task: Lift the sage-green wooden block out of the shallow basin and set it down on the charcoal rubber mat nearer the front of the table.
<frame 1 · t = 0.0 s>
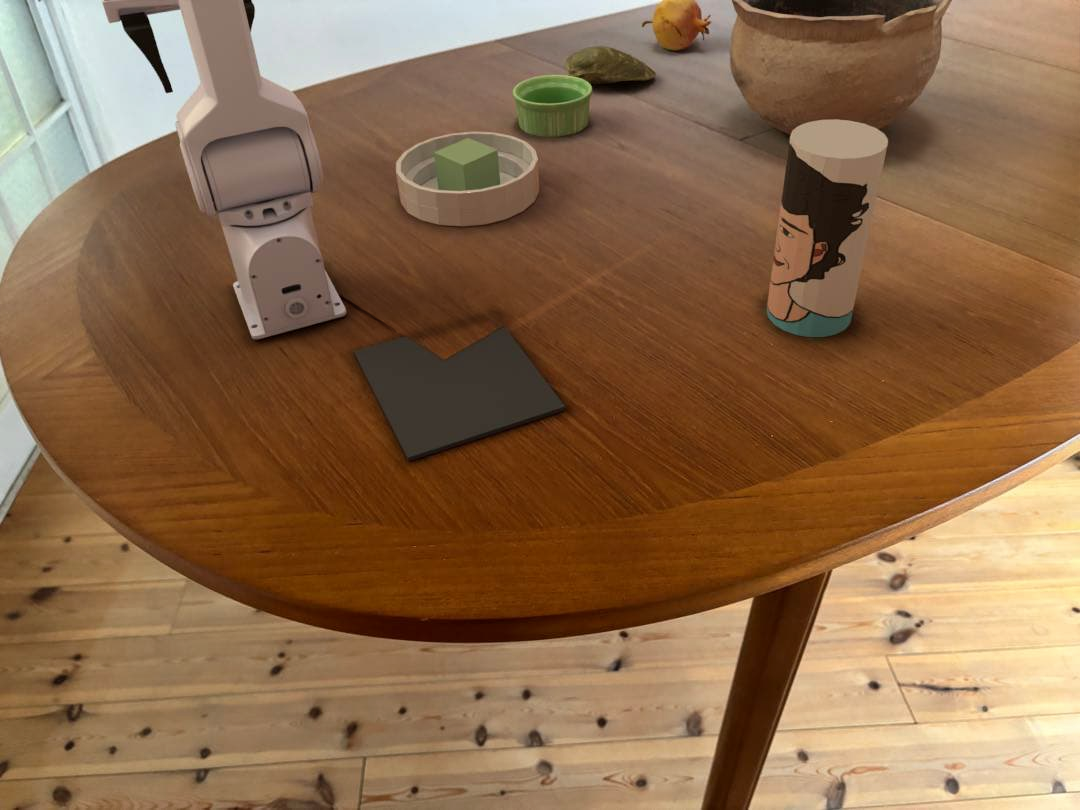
hand: (207, 82, 94), 10 cm above the table, tool pointing down, fingers open, 7 cm apart
basin: (470, 197, 93), on the table
ramekin: (553, 127, 106), on the table
fruit: (676, 48, 125), on the table
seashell: (609, 83, 116), on the table
cup: (808, 315, 75), on the table
ceramic bowl: (818, 127, 103), on the table
mat: (455, 381, 70), on the table
green block: (469, 192, 93), resting on basin
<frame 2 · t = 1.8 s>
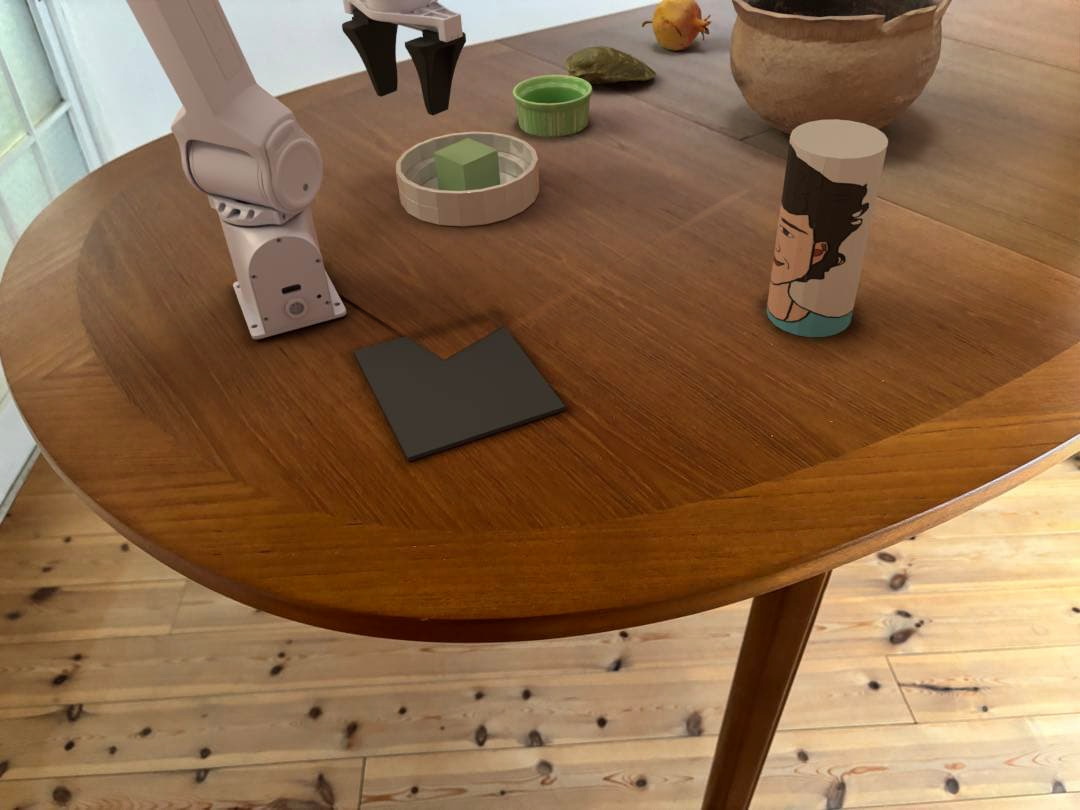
hand: (412, 102, 89), 10 cm above the table, tool pointing down, fingers open, 7 cm apart
nothing on the table moved.
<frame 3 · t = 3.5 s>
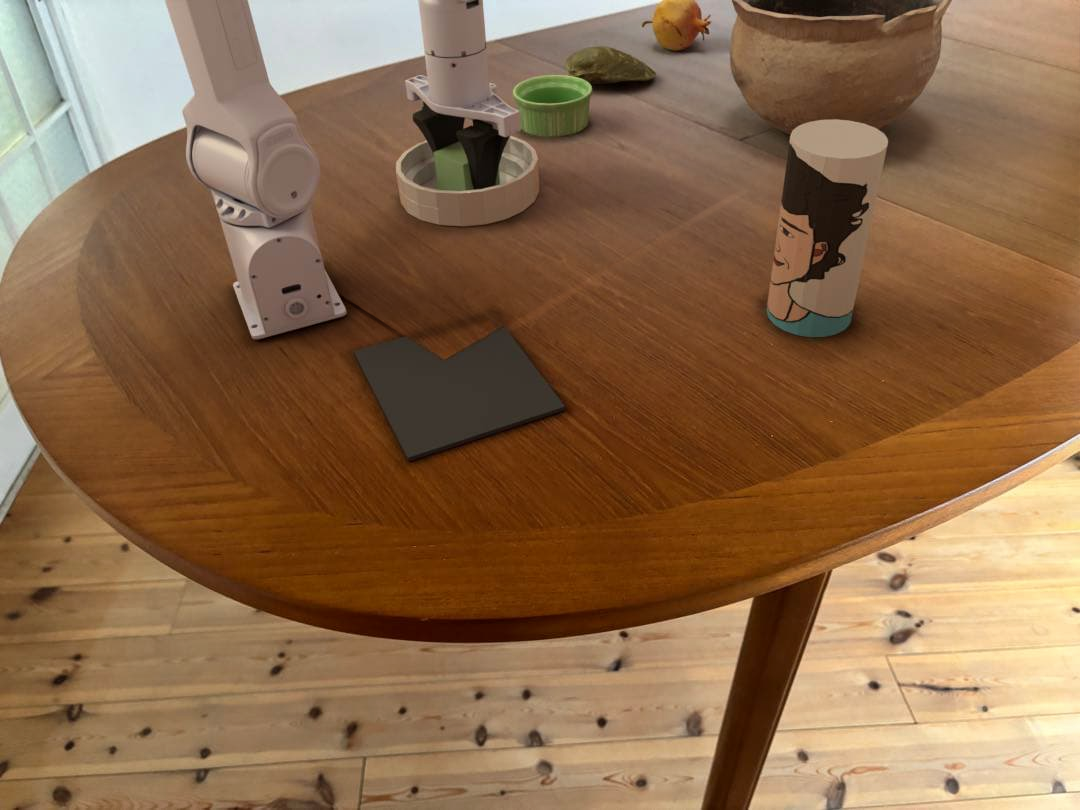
hand: (469, 184, 92), 1 cm above the table, tool pointing down, fingers closed on green block, 4 cm apart
green block: (469, 192, 93), point 1 cm above the table, touching basin, gripper
everything else where it was.
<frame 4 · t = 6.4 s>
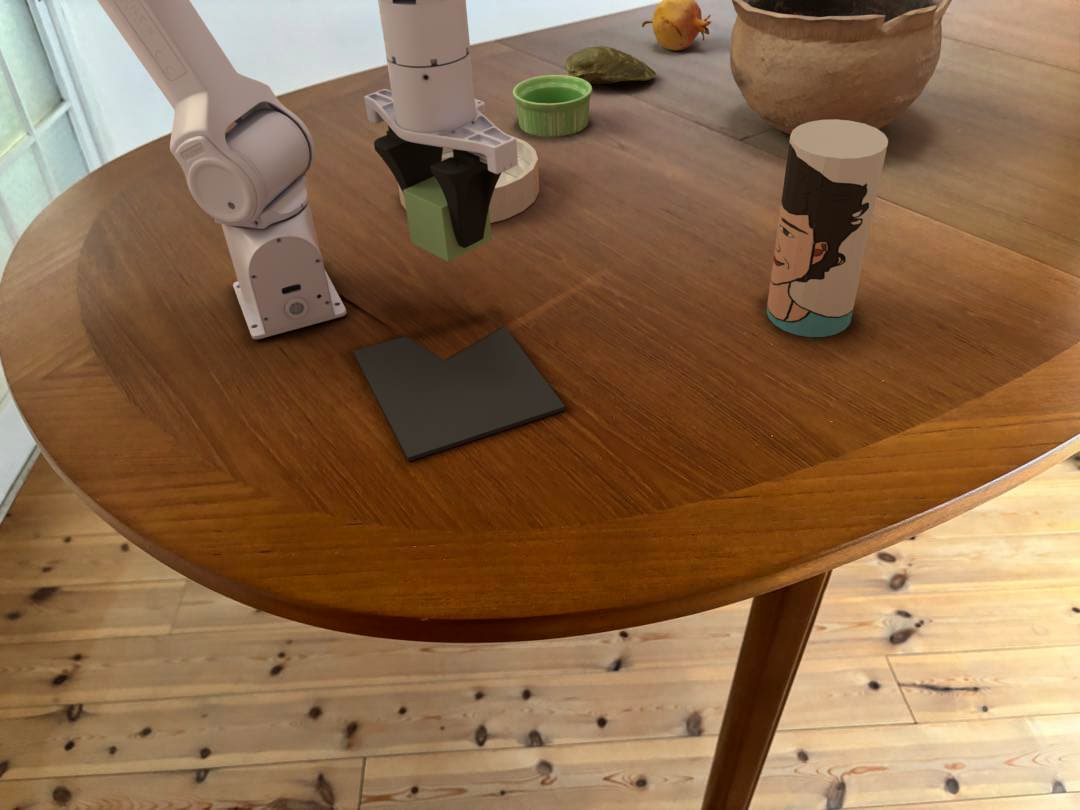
hand: (449, 231, 71), 8 cm above the table, tool pointing down, fingers closed on green block, 4 cm apart
green block: (451, 241, 71), point 8 cm above the table, touching gripper
everything else where it was.
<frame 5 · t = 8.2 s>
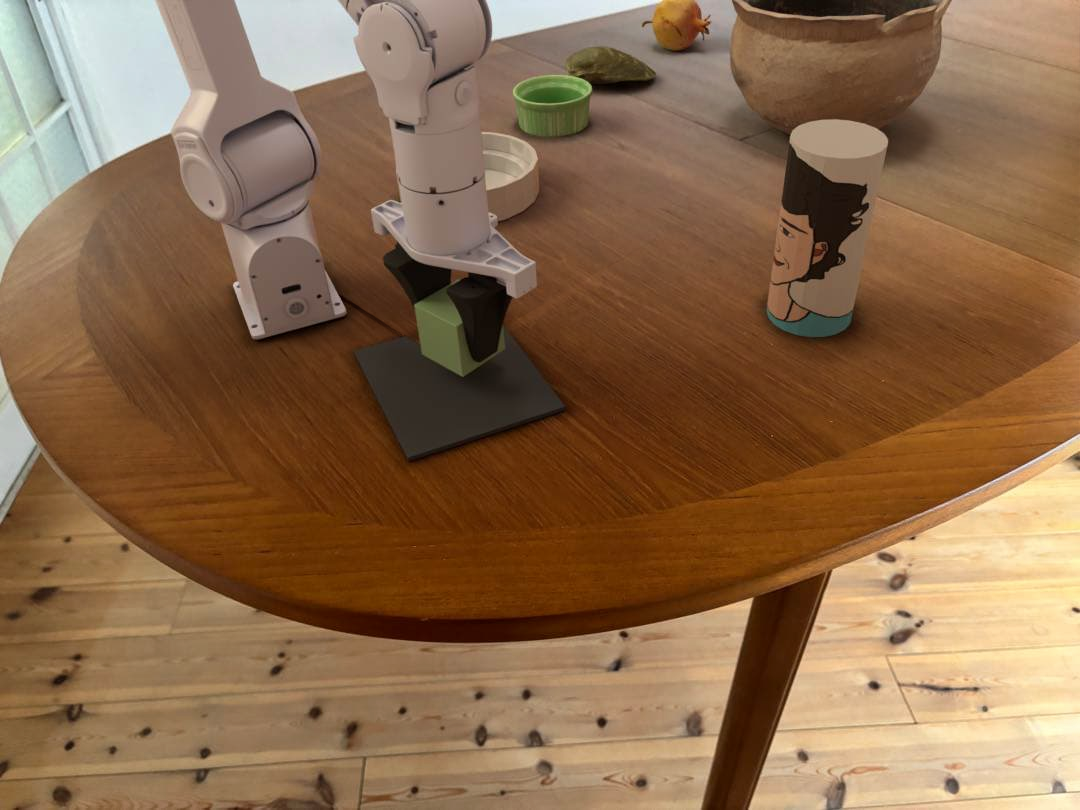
hand: (461, 342, 69), 3 cm above the table, tool pointing down, fingers closed on green block, 4 cm apart
green block: (463, 351, 69), point 2 cm above the table, touching gripper
everything else where it was.
when the fingers open (1 cm above the table, at t = 9.2 s): green block stays where it is, resting on mat.
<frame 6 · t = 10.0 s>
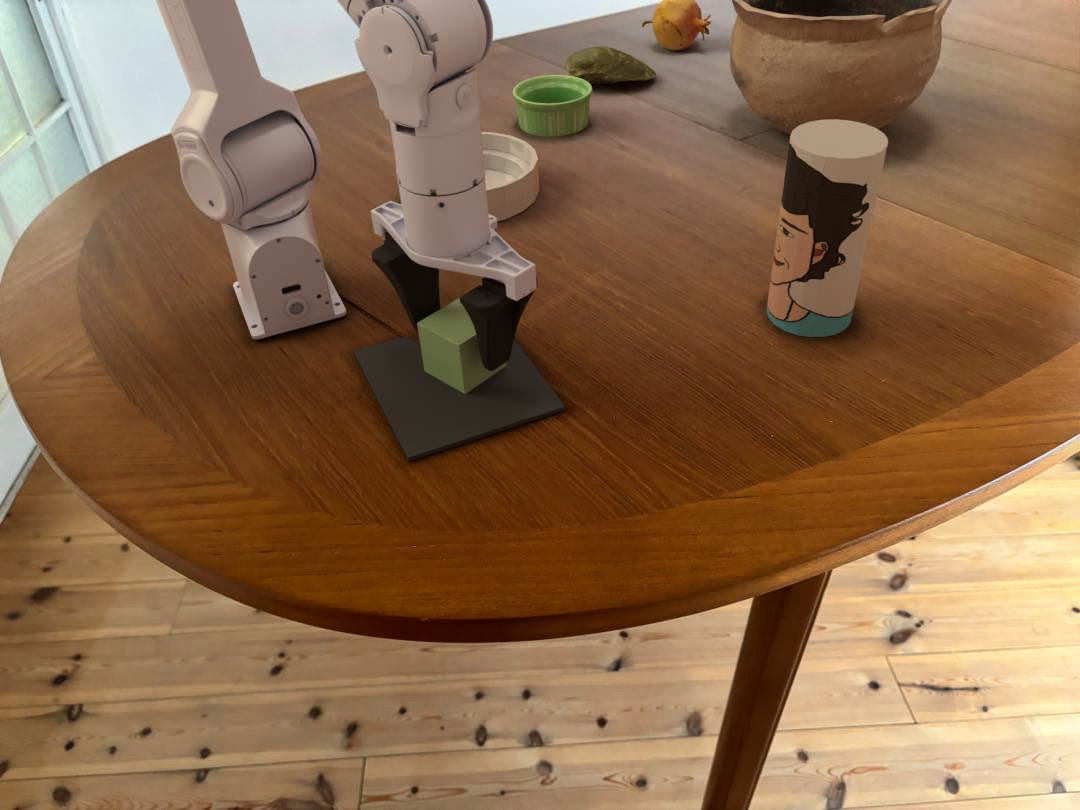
hand: (461, 344, 69), 3 cm above the table, tool pointing down, fingers open, 7 cm apart
green block: (465, 368, 70), resting on mat
everything else where it was.
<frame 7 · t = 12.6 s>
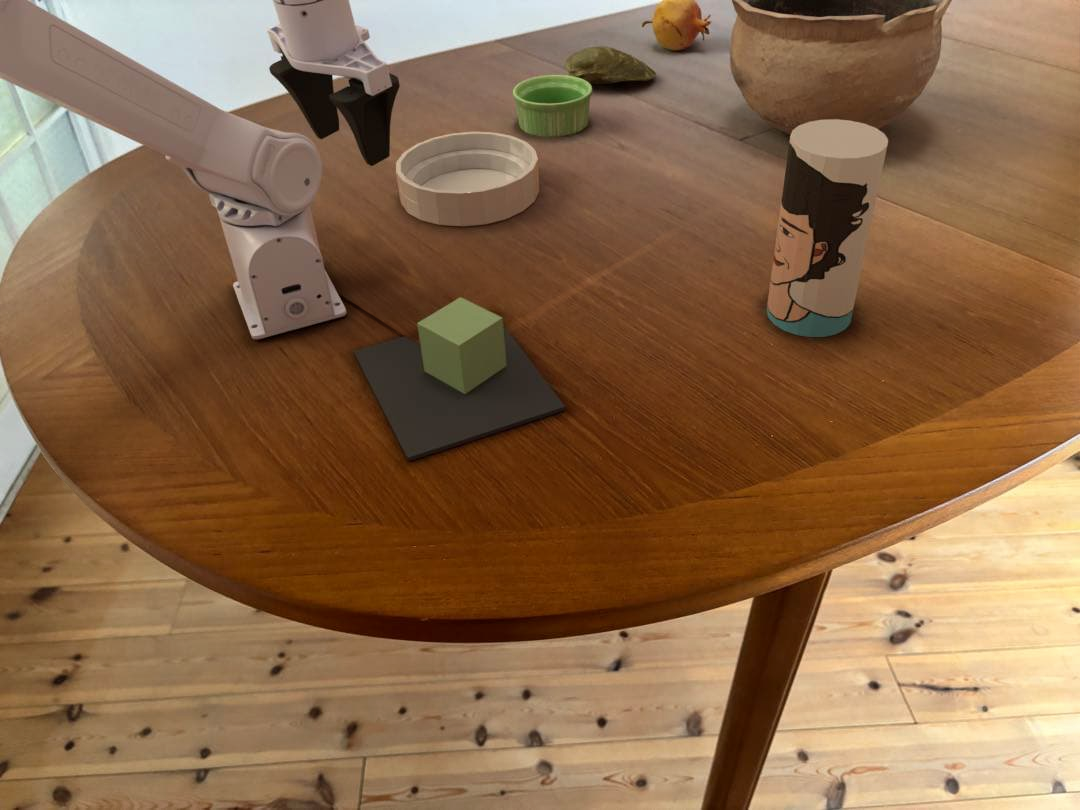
hand: (352, 146, 81), 10 cm above the table, tool pointing down, fingers open, 7 cm apart
nothing on the table moved.
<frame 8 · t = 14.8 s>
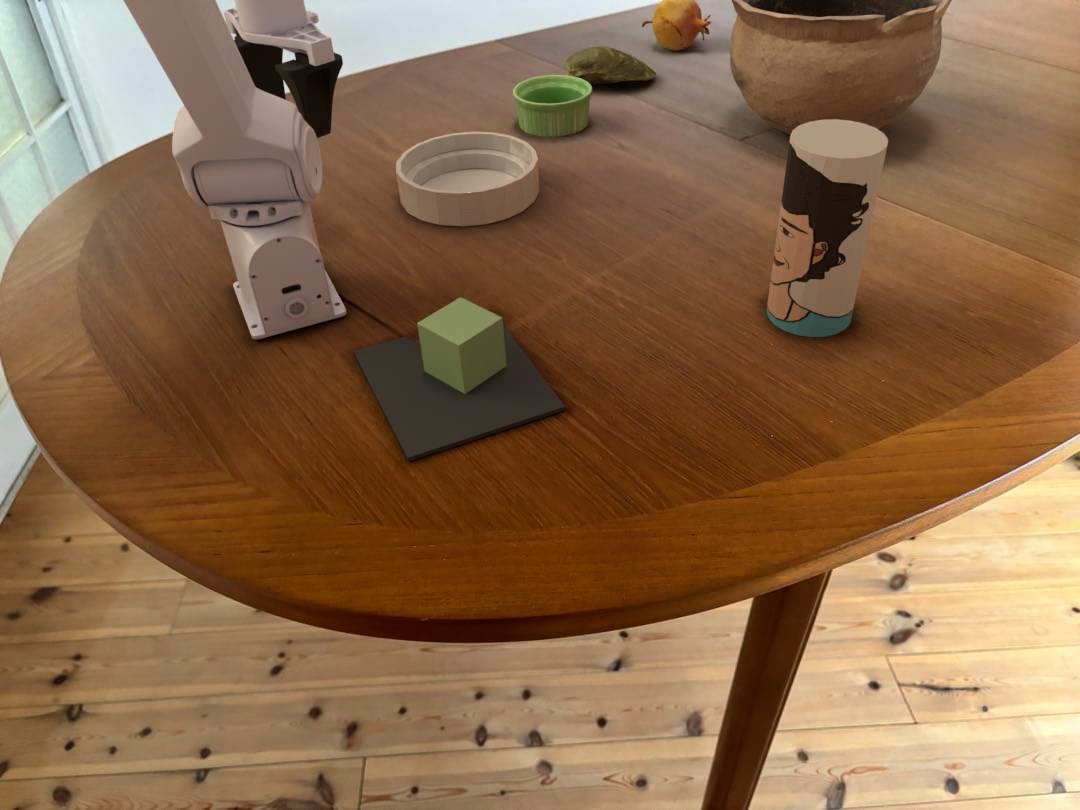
hand: (296, 124, 86), 9 cm above the table, tool pointing down, fingers open, 7 cm apart
nothing on the table moved.
at the end: green block inside the target area on the mat (1.3 cm from its centre), point 0.4 cm above the mat's base; green block tilted 0°; the gripper is holding nothing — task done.
